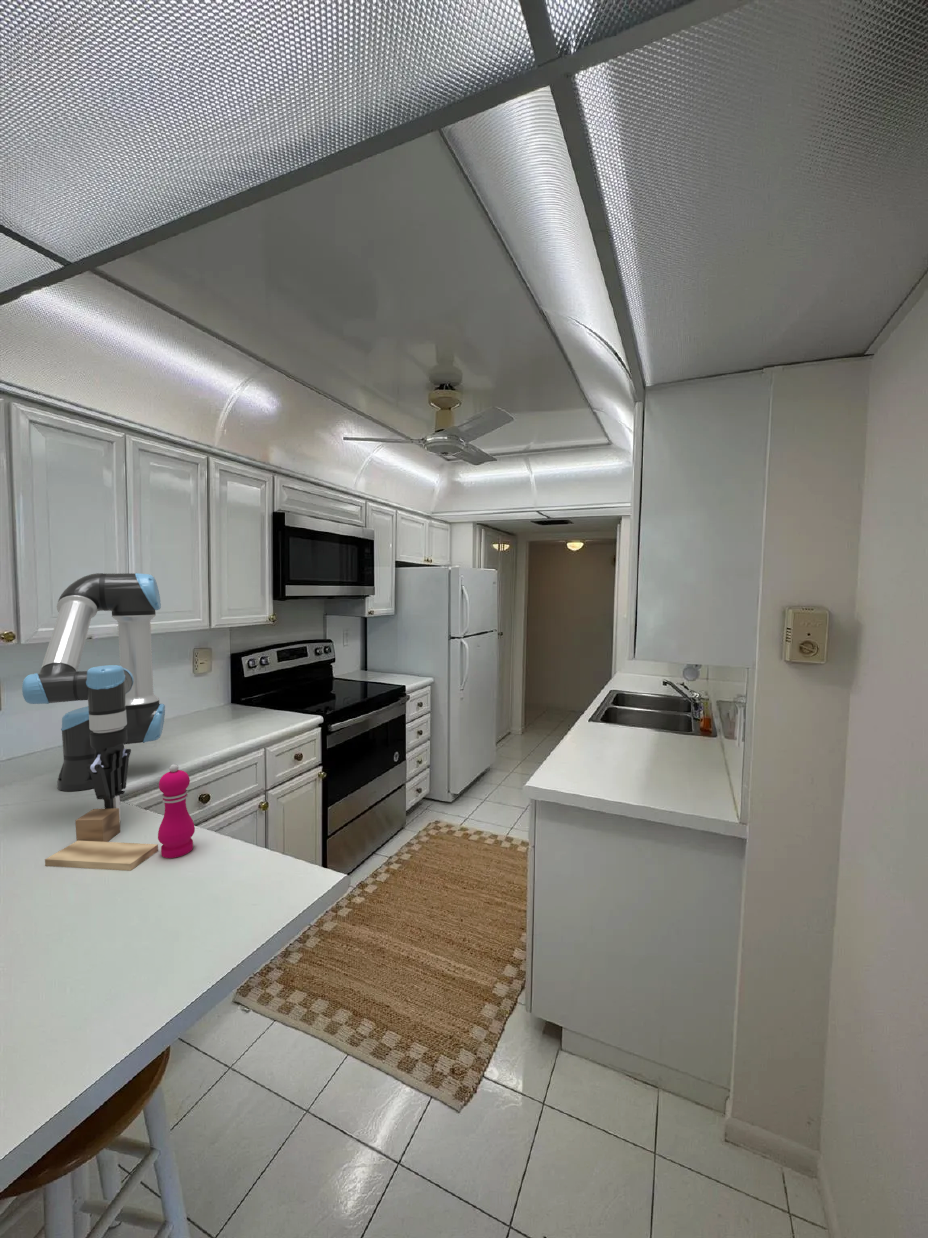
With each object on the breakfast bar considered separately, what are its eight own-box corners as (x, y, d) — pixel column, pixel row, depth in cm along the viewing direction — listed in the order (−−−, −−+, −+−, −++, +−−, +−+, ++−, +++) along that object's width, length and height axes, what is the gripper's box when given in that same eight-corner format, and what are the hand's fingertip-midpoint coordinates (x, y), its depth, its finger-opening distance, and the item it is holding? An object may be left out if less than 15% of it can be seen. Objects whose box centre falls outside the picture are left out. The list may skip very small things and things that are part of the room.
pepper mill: (202, 843, 115) (199, 759, 114) (181, 860, 108) (177, 770, 107) (173, 842, 116) (169, 758, 115) (150, 859, 109) (146, 769, 108)
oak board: (78, 849, 114) (77, 840, 114) (158, 853, 112) (157, 844, 112) (45, 868, 106) (44, 859, 106) (131, 873, 104) (130, 864, 104)
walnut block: (94, 833, 121) (93, 809, 120) (120, 832, 121) (118, 808, 121) (76, 845, 115) (75, 820, 114) (103, 844, 115) (102, 819, 115)
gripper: (110, 722, 128) (114, 811, 129) (73, 737, 115) (78, 835, 116) (140, 721, 128) (144, 810, 130) (106, 736, 115) (111, 834, 117)
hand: (113, 822), depth 123 cm, fingers closed
